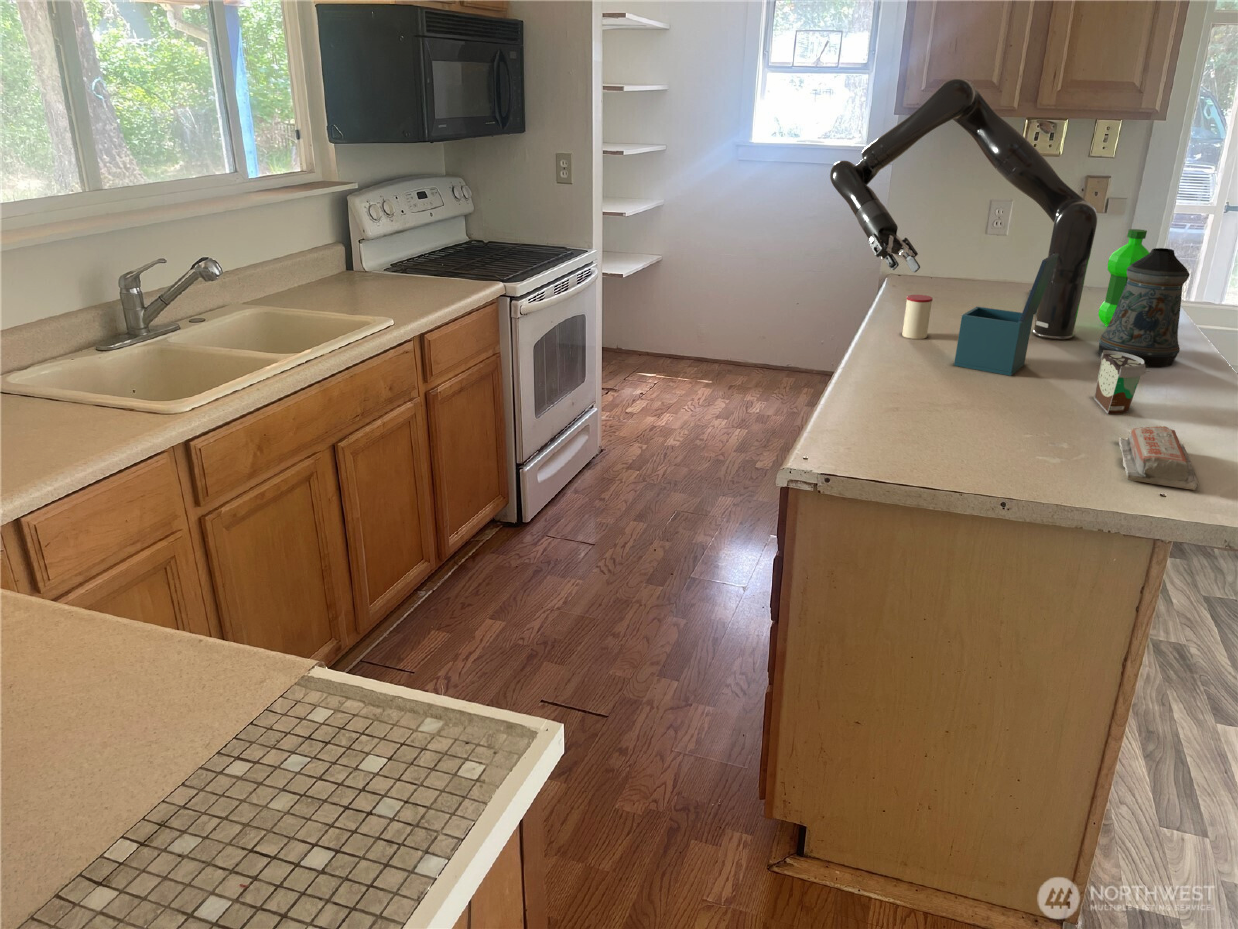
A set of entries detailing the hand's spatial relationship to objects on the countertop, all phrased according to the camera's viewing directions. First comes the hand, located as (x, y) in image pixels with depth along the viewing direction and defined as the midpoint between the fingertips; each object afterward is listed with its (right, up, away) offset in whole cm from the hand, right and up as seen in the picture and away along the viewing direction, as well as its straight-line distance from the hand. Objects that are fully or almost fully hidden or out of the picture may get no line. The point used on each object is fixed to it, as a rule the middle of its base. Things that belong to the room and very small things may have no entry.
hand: (906, 268), depth 219 cm
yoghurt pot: (+3, -16, +4) cm, 17 cm away
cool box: (+13, -26, -19) cm, 35 cm away
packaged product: (+18, -50, -72) cm, 90 cm away
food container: (+27, -38, -45) cm, 65 cm away
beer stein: (+50, -24, -13) cm, 57 cm away
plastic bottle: (+60, -13, +13) cm, 63 cm away
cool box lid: (+18, -11, -31) cm, 37 cm away
